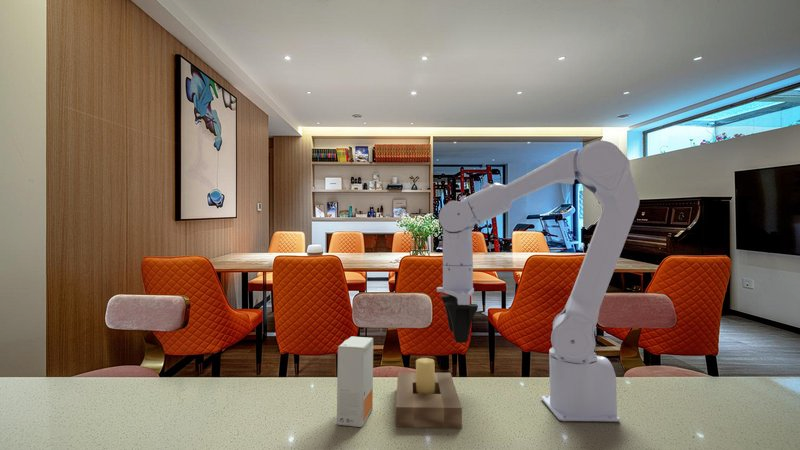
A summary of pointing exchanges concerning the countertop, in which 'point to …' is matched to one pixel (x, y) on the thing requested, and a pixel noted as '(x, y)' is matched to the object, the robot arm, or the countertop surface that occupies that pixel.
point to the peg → (425, 376)
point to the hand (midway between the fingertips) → (458, 336)
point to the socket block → (427, 403)
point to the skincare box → (355, 381)
